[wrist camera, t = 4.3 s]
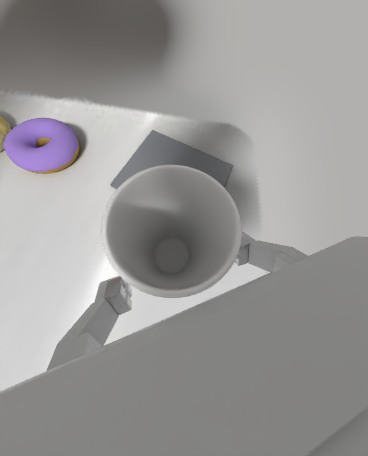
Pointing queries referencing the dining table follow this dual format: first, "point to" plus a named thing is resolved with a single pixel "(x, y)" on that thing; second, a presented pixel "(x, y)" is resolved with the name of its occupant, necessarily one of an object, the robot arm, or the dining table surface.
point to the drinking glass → (171, 231)
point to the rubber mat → (171, 159)
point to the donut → (42, 145)
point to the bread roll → (3, 131)
